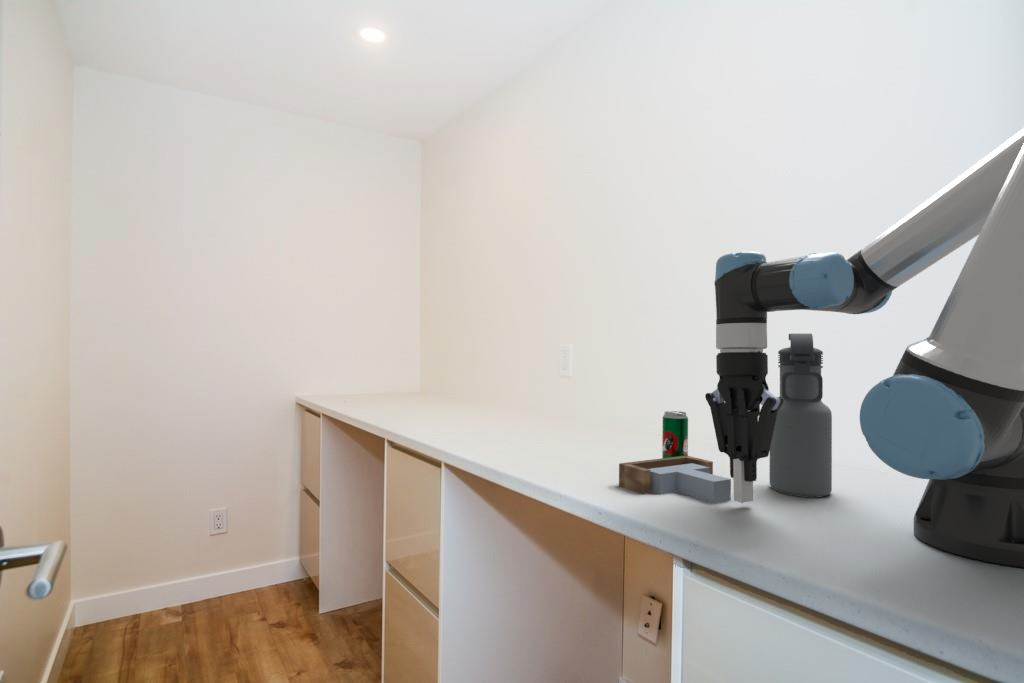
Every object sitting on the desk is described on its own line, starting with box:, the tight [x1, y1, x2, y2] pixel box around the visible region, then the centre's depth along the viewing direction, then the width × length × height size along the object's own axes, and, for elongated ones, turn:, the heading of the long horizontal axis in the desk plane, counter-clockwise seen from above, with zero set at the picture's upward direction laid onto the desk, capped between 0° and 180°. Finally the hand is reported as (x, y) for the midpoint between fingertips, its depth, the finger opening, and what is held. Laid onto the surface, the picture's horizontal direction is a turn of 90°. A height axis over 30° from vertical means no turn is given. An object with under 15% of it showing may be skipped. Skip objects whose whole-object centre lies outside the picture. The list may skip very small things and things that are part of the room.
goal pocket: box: [618, 455, 714, 495], centre depth 100 cm, size 6×17×4 cm, turn 118°
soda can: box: [661, 410, 689, 458], centre depth 111 cm, size 5×5×12 cm
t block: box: [649, 463, 732, 504], centre depth 94 cm, size 12×12×4 cm
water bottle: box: [769, 333, 833, 498], centre depth 96 cm, size 10×10×28 cm
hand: (743, 500), depth 85 cm, fingers closed
